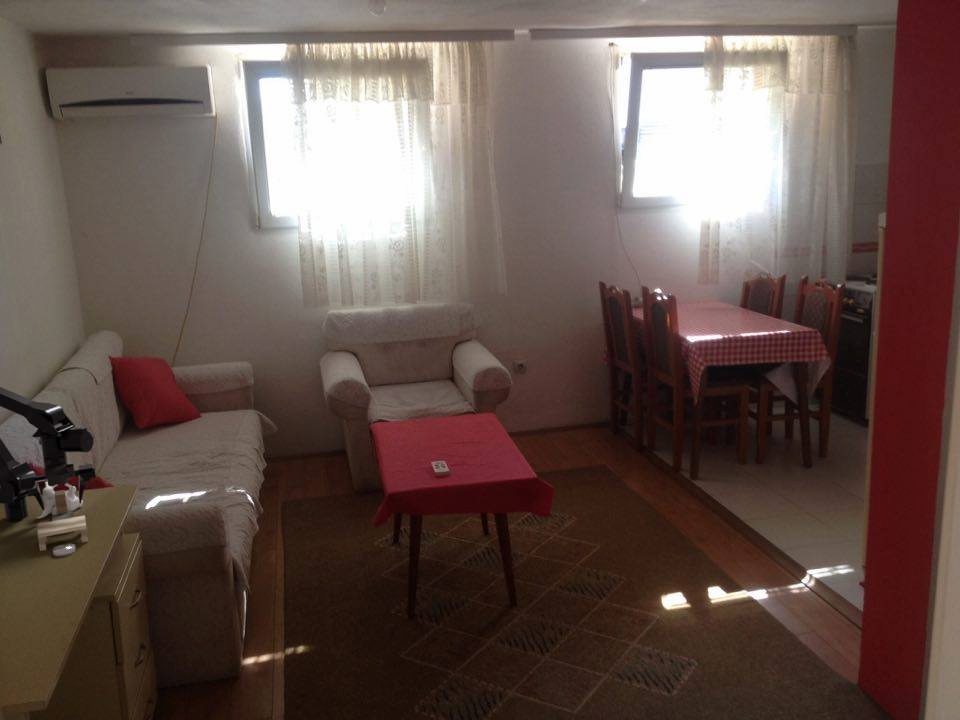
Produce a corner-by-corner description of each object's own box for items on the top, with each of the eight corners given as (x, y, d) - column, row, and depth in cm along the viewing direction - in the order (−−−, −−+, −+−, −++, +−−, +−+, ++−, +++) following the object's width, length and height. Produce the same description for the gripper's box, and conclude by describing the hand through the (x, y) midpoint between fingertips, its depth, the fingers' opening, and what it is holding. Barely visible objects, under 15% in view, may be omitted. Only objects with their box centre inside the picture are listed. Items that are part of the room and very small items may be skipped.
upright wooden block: (52, 516, 233) (49, 492, 232) (73, 512, 235) (69, 489, 234) (52, 535, 219) (49, 510, 218) (74, 531, 221) (71, 506, 220)
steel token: (54, 551, 209) (53, 545, 209) (76, 547, 211) (75, 542, 211) (53, 558, 205) (52, 553, 204) (75, 554, 207) (74, 549, 206)
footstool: (40, 540, 216) (37, 523, 215) (87, 531, 221) (84, 515, 220) (40, 551, 209) (37, 534, 208) (88, 541, 214) (85, 525, 213)
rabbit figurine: (37, 519, 232) (32, 486, 230) (36, 511, 238) (31, 478, 236) (84, 510, 237) (80, 477, 235) (82, 502, 244) (78, 470, 242)
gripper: (14, 465, 217) (23, 522, 220) (93, 453, 225) (100, 508, 228) (15, 455, 227) (24, 509, 230) (91, 443, 235) (98, 496, 238)
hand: (62, 506), depth 231 cm, fingers open, 9 cm apart
